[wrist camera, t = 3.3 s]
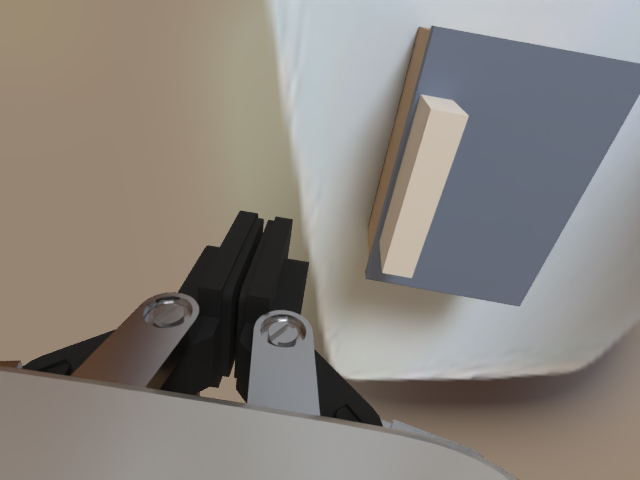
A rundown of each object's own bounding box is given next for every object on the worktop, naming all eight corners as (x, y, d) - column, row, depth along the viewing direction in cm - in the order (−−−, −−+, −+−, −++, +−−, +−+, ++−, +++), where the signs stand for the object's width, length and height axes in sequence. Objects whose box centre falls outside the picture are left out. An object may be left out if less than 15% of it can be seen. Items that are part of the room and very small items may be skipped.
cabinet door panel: (643, 64, 17) (711, 77, 14) (514, 297, 24) (539, 343, 21) (431, 25, 17) (448, 29, 13) (365, 270, 24) (366, 312, 20)
